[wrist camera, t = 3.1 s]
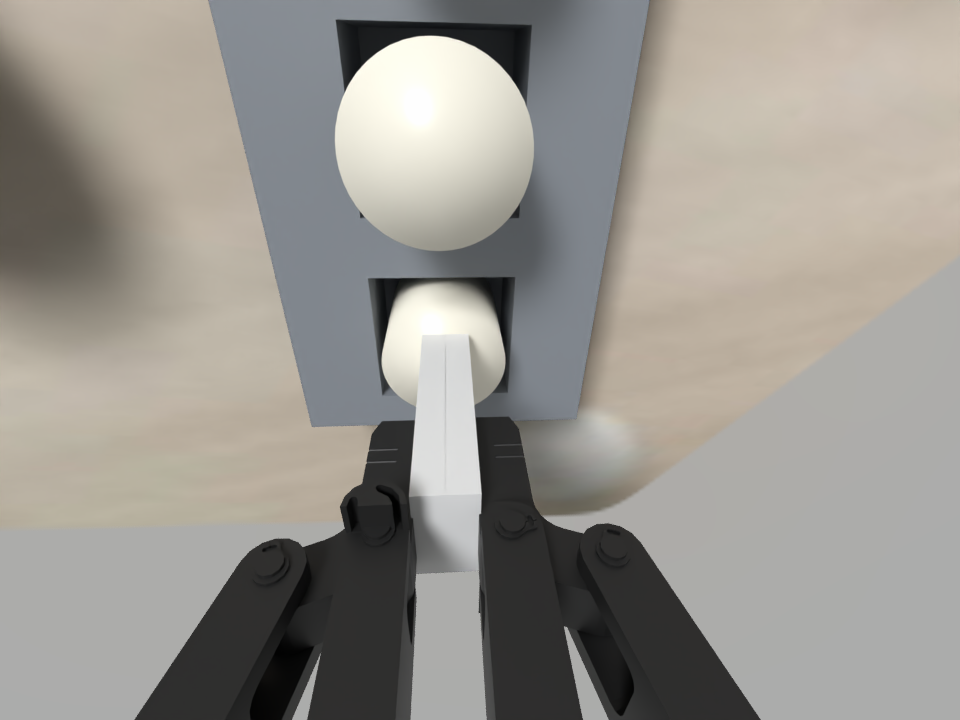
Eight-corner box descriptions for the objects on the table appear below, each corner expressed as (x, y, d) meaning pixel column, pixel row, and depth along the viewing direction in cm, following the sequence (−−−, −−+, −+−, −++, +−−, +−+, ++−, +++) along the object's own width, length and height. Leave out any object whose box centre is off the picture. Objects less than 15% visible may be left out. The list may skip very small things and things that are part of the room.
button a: (398, 348, 20) (387, 413, 17) (389, 257, 18) (375, 310, 14) (491, 346, 21) (502, 410, 17) (495, 256, 18) (508, 308, 15)
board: (331, 371, 22) (311, 426, 19) (170, -458, 10) (36, -709, 7) (556, 366, 23) (576, 419, 20) (661, -412, 11) (758, -622, 7)
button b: (373, 201, 15) (349, 251, 11) (356, 39, 12) (318, 33, 9) (505, 201, 15) (526, 250, 11) (513, 43, 13) (542, 38, 9)
